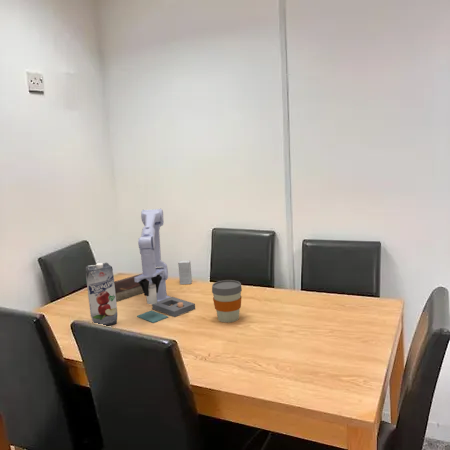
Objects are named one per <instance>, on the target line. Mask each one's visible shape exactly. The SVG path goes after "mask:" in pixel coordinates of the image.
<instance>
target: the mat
mask: <svg viewBox="0 0 450 450" xmlns="http://www.w3.org/2000/svg"><path fill="white" fill-rule="evenodd" d="M136 317H137V318H139V319H142V320H144V321H146V322H149V323H152V324H155V323H158V322H160V321H163V320H166V319H168V318H169V315H167V314H164V313H161V312H158V311H156V310H153V309H152V310H149V311H146V312H143V313H140V314H138V315H136Z"/></svg>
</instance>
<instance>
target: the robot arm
mask: <svg viewBox="0 0 450 450" xmlns="http://www.w3.org/2000/svg"><path fill="white" fill-rule="evenodd" d="M140 219H141V222H142V224H143V225H144V226H143V227H142V230H141V234H140V237H139V238H138V241H137V242H138V248H139V253H140V259H141V268H142V269H141V270H142V273H143V274H142V273H140V274H141V275H139V274H138V275H139V276H137V277H134V280H135V282H138V283H139V284H140V286H141V287H142V289H143V292H144V293H143V294H144V296H149V290H148V287H149V284H152V283H153V284H156V294H157V302H159V301H162V300H165V299H167V298H170V297H171V296H169V295H168V294H167V283H166V281H167V280H168V279H169V271H168V265H167V263H166V262H164V261H163V260H162V255H161V238H160V237H161V236H160V235H161V234H160V230H161V227H162V226H164V224H165V223H164V211H163V209H162V208H155V209H154V208H153V209H142V210H141V213H140ZM146 279H147V280H148V281H147V280H146ZM145 298H146V299H147V297H145Z"/></svg>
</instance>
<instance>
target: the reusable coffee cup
mask: <svg viewBox="0 0 450 450" xmlns="http://www.w3.org/2000/svg"><path fill="white" fill-rule="evenodd" d="M211 285H212V286H211V293H212V295H213V296H212V297H213V298H212V300H213V305H214V309H215V312H216V314H217V320H218V321H219V322H221V323H233V322H236V321H238V320H239V319H240V310H241V307H242V297H243V296H242V295H241V293H242V289H243V288H242V283H241V282H240V281H239V280H234V279H233V280H232V279H225V280H219V281H218V280H217V281H216V282H213V283H212V284H211Z"/></svg>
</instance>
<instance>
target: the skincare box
mask: <svg viewBox="0 0 450 450" xmlns="http://www.w3.org/2000/svg"><path fill="white" fill-rule="evenodd" d="M177 265H178V276H179V285H190V284H192V282H193V279H192V278H193V276H192V275H193V274H192V266H191V265H192V264H191V260H179V261H178V262H177Z"/></svg>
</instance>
